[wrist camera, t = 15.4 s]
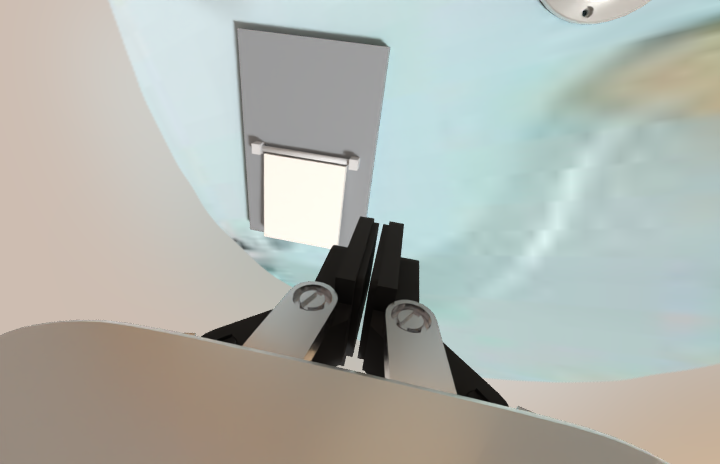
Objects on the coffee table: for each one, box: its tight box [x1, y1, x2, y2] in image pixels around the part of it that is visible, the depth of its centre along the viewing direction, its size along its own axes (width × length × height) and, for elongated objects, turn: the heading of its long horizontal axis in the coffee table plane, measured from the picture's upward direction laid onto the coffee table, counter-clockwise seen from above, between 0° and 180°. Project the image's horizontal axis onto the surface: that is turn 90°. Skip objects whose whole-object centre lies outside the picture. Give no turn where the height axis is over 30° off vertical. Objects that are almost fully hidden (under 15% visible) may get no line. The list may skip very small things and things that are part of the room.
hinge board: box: [237, 28, 390, 247], centre depth 37 cm, size 24×16×3 cm, turn 173°
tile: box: [264, 152, 347, 249], centre depth 39 cm, size 11×10×1 cm
